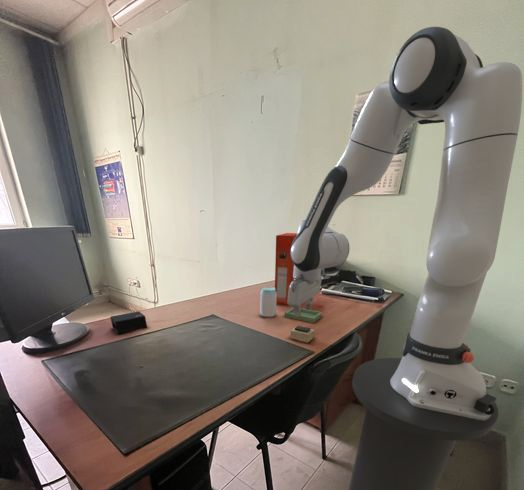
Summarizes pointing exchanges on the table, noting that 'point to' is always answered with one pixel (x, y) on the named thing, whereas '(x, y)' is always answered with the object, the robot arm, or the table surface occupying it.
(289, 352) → the table surface
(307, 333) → the cream rectangular box
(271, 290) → the can
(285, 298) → the file binder
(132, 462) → the table surface
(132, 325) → the electronic device
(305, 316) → the tray
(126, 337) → the table surface
